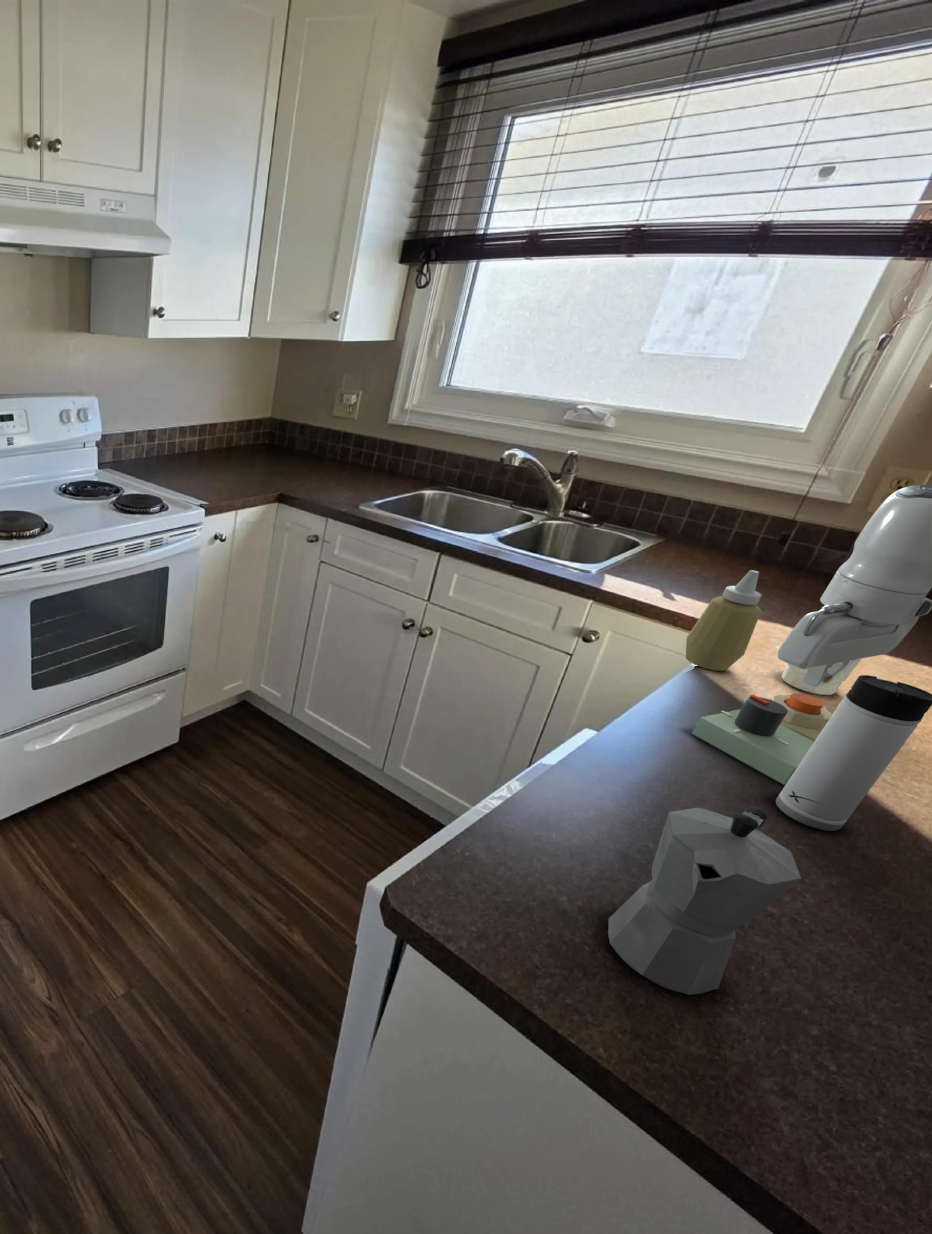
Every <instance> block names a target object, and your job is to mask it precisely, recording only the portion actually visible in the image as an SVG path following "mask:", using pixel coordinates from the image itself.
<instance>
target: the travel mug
mask: <svg viewBox="0 0 932 1234" xmlns="http://www.w3.org/2000/svg"><path fill="white" fill-rule="evenodd" d="M931 707H932V693H931V692H929V691H926V690H924V689H921V688H919V687H917V686H915V685H914V686H913V685H911V684H908V683H904V682H900V681H897V682H894V681H890V680H887V679H882V678H878V676H876V675H875V676H874V675H869V674H861V675H858V677H857V678H856V680H855V681H854V683H853V684H852V686H851V687H850V689H849V691H848V692H847V693H846V694H845V695H844V697H843V699H842V700H841V701H840V702H839V704H838V705H837V707H836V709H835V710H834V712H833V713H832V716H831V718H830V719H829V721H828V722H827V724H826V725H825V727H824V728H823V730H822V731H821V733H820V734H819V736H818V737H817V739H816V740H815V742H814V743H813V745H812V746H811V748H810V749H809V751H808V752H807V754H806V755H805V757H804V758H803V760H802V761H801V763H800V764H799V766H798V767H797V769H796V770H795V772H794V773H793V775H792V776H791V778H790V779H789V781H788V782H787V784H785V785H784V786H783V788H782V790H781V791H780V792H779V794H778V796H777V797H776V799H775V804H776V806H777V807H778V809H779V810H780V811H781V812H782V813H784V814H785V815H786V816H787V817H788V818H791V819H792V820H794V821H796V822H798V823H800V824H802V825H805V826H807V827H810V828H813V829H817V830H821V831H828V832H833V831H834V832H835V831H839V830H841V829H842V828H843V827H844V825H845V823H847V821H848V819H849V818H850V817H851V816H852V815H853V813H854V812H855V811H856V809H857V808H858V807H859V805H860V804H861V803H862V801H863V800H864V798H865V797H866V796H867V794H868V793H869V791H870V790H871V789H872V788H873V787H874V785H875V784H876V782H877V781H878V779H879V778H880V777H881V775H882V774H883V773H884V771H885V770H886V769H887V768H888V766H889V765H890V763H891V762H892V761H893V760H894V758H895V757H896V756H897V754H898V753H899V751H900V750H901V749H902V747H903V746H904V745H905V744H906V742H907V741H908V739H909V738H910V736H911V735H912V734H913V733H914V731H915V730H916V728H917V727H918V724H920V723H921V722H922V720H923V718H924V716H925V714H926V713H927V712H928V711H929V710H930V709H931Z"/></svg>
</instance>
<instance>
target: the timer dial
mask: <svg viewBox="0 0 932 1234" xmlns="http://www.w3.org/2000/svg"><path fill="white" fill-rule="evenodd" d="M740 709H741V710H740V712H739V714H738V715H737V717H736V719H735V721H734V722H735V724H736V725H737V726H739V727H740V728H742V729H744V730H746V731H748V732H750V733H753V734H756V735H761V736H772V735H774V733H775V732H776V730H777V728H778V727H779V725H780V724H781V722H782V720H783V719H784V717H785V716H786V714H787V713H788V710H787V709H786V708H785V707H784V706H783V705H781V704H779V703H777V702H775V701H772V700H770V699H769V698H766V697H762V696H757V695H756V694H750V696H749V697H747V698H746V700H745V702H744V704H743V705H742V706H741V708H740Z"/></svg>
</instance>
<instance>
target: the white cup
mask: <svg viewBox="0 0 932 1234" xmlns="http://www.w3.org/2000/svg"><path fill="white" fill-rule="evenodd" d="M861 661H862V659H856V660H851V661H850V662H849V663H848V665H847V666H845V667H844V668H843V669H842V670H841V671H839V672H838V673H837V674H836V675H835V676H834V677H833V679H832V680H831V681H830V683H828V684H824V685H819V686H811V685H809V684H807V683H804V682H803V678H804V676H805V675H806V673H807V672H808V671H807V669H801V668H798V667H796V666H793V665H791V664H789V663H787V665H786V667H785V669H784V671H783V672H782V675H781V678H782V681H784V682H785V683H787V684H788V685H789V686H792V687H794V688H796V689H798V690H800V691H804V692H807V693H810V694H814V695H819V696H820V695H821V696H832V695H834V694H835V693H836V692H837V691H838V689H839V688H840V687H841V686H842V684H843V683H844V682H845V681H847V680H848V679H847V678H849V676H850V675H851V674H852V673H853V671H855V669H856V667H857V666H858V664H859V663H860V662H861Z"/></svg>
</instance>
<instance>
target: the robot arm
mask: <svg viewBox="0 0 932 1234" xmlns="http://www.w3.org/2000/svg"><path fill="white" fill-rule="evenodd" d="M931 589H932V483H924V484H922V483H921V484H913V485H910V486H905V487H901V488H900V489H897V490H896V491H894V492H893V493H891V495H889V496H888V497H887V498H886V499H885V500H884V501H883V502H882V503H881V504H880V505H879V507H878V508H877V509H876V511H874V513H873V514H872V515H871V517H870V518H869V520H868V521H867V522H866V524H865V526H864V527H863V528H862V530H861V532H860V533H859V534H858V536H857V538H856V540H855V541H854V546H853V550H852V553H851V555H850V557H849V558H848V559H847V560H846V561H845V562H844V563H842V564H841V565H840V566H839V568H837V570H836V572H835V574H834V575H833V577H832V579H831V580H830V582H829V584H828V585H827V587H826V589H825V590H824V591H823V593H822V595H821V597H820V598H819V601H820V603H821V604H822V605H824V606H822V607H821V608H820V610H819V611H818V610H817V611H812V612H809V613H807V614H805V615H804V616H802V618H800V620H798V622H797V623H796V624H795V626H794V627H793V628H792V629H791V631H790V632H789V634H788V635H787V636H786V638H785V639H784V641H783V642H782V644H781V646H780V647H779V648H778V650H777V658H778V659H779V660H780V661H782V662H785V663H786V664H788V663H789V664H791V665H793V666H796V667H798V668H801V669H807V671H808V672H807V673H806V675H805V676H804V678H803V682H804V683H807V684H809V685H811V686H819V685H824V684H828V683H830V681H831V680H832V679H833V677H834V676H835V675H836V674H837V673H838V672H839V671H841V670H842V669H843V668H844V667H845V666H847V665H848V663H849V662H850V661H851V660H856V659H861V660H862V659H866V658H873V657H878V656H884V655H887V654H889V653H890V652H892V651H893V650H894V649H895V648H897V646H899V644H901V642H902V641H903V640H904V639H905V637H906V636H907V635H908V634H909V633H910V632H911V630H912V629H913V628H914V626H915V625H916V624H917V622H918V620H919V618H920V617H922V616H926V615H928V614H929V613H930V612H931V610H932V599H930V598H928V597H926V596H927V595H928V593H929V592H930V591H931Z"/></svg>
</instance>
